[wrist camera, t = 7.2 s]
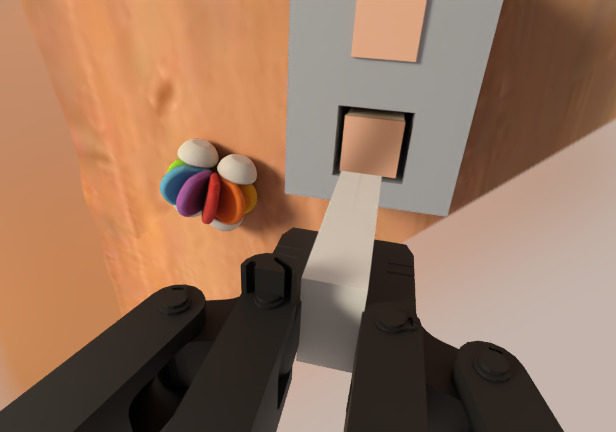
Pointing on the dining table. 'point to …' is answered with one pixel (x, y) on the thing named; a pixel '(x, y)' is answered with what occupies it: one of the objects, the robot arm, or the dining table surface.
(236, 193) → the rainbow disc toy
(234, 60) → the dining table surface
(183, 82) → the dining table surface
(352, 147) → the peg
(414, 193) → the socket block
